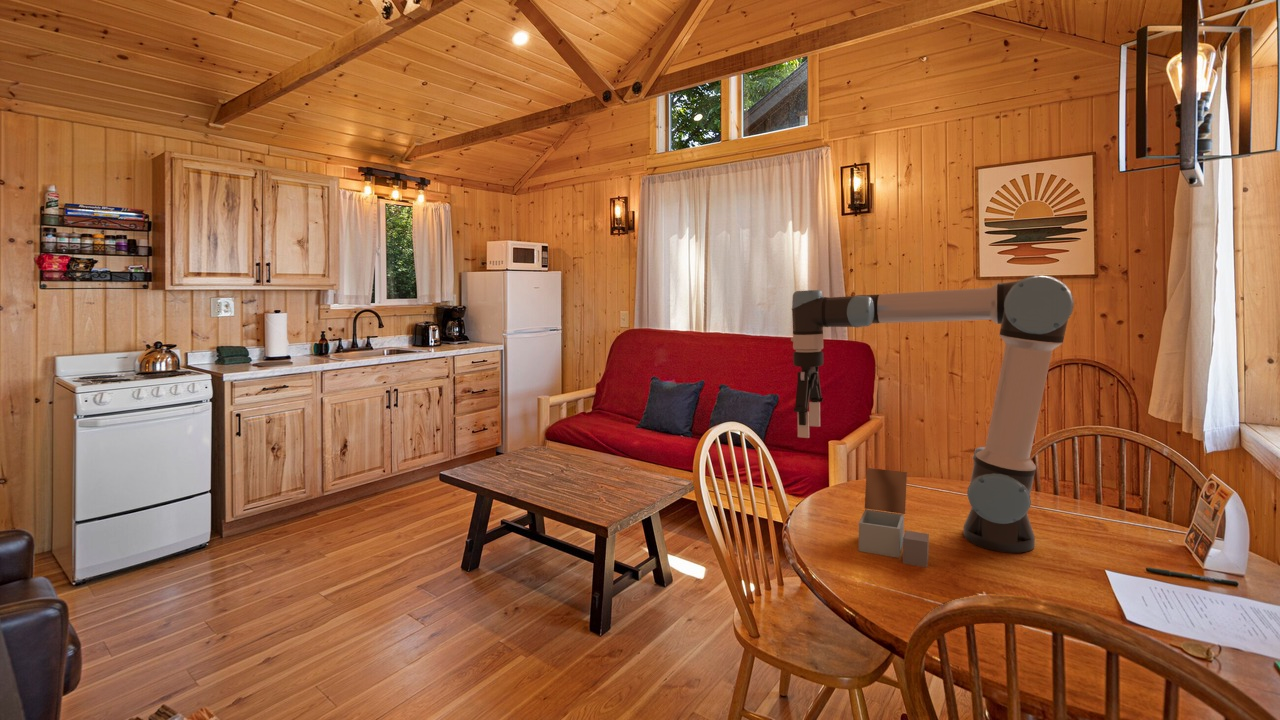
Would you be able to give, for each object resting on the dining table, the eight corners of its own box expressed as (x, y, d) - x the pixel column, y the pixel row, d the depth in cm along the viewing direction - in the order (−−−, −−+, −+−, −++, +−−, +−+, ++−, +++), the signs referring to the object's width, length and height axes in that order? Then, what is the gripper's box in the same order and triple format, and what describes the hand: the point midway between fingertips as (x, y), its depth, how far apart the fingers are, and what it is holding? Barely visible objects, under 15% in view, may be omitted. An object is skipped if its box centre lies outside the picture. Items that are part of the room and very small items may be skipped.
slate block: (928, 558, 140) (928, 533, 139) (926, 567, 136) (927, 542, 135) (904, 554, 142) (905, 530, 142) (902, 563, 138) (903, 538, 137)
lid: (904, 514, 149) (905, 513, 149) (906, 472, 150) (907, 472, 151) (864, 508, 153) (865, 508, 154) (866, 467, 154) (867, 467, 155)
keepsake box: (903, 541, 149) (903, 514, 149) (899, 557, 141) (899, 529, 140) (864, 535, 154) (865, 509, 153) (858, 551, 145) (858, 522, 144)
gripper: (804, 346, 168) (805, 421, 170) (780, 355, 146) (782, 441, 149) (832, 346, 165) (833, 422, 167) (812, 355, 143) (813, 443, 145)
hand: (809, 431), depth 158 cm, fingers open, 13 cm apart
